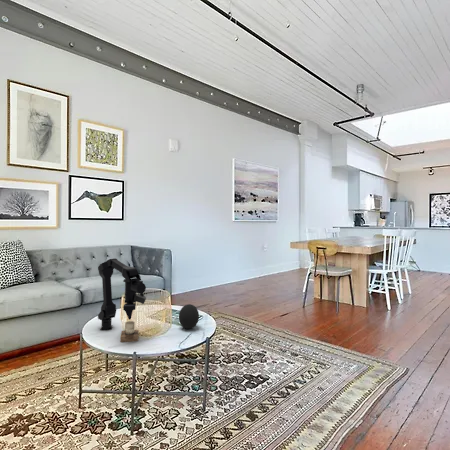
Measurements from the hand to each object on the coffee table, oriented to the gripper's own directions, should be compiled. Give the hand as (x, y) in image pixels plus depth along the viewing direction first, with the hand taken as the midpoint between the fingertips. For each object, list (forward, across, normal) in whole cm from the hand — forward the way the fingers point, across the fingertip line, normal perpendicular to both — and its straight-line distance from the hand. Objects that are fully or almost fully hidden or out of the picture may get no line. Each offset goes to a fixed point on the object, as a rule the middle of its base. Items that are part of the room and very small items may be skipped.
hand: (130, 318), depth 182 cm
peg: (+12, 0, 0) cm, 12 cm away
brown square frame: (+12, 0, 0) cm, 12 cm away
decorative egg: (+12, +10, -34) cm, 38 cm away
